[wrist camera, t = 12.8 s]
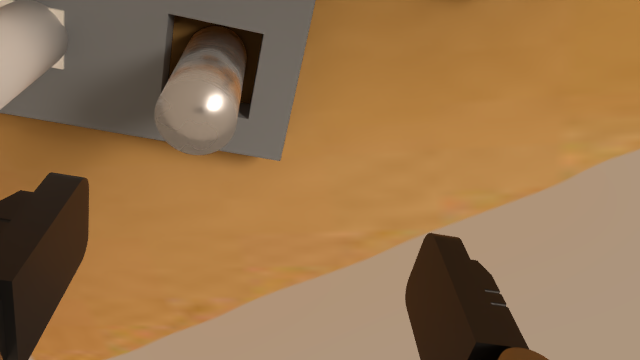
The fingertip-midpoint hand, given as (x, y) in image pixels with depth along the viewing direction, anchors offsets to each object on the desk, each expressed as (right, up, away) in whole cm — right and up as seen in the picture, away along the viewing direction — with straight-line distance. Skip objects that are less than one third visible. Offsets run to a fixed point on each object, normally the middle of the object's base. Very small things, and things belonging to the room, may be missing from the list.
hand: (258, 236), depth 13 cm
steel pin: (-5, +9, +20) cm, 22 cm away
